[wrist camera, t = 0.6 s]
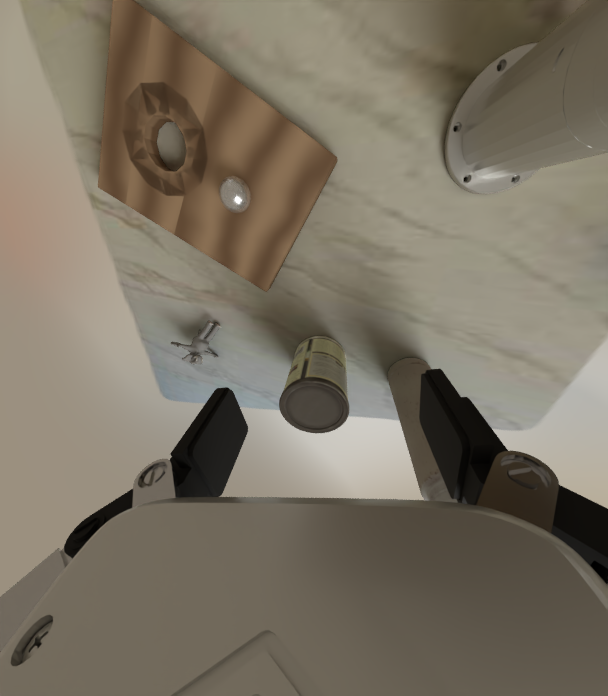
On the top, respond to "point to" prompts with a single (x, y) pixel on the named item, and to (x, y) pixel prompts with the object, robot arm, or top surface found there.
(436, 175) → the top surface
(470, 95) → the robot arm
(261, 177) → the deck
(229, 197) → the ball
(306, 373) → the coffee can
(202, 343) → the grey toy figure
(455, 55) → the top surface
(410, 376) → the thermos bottle
